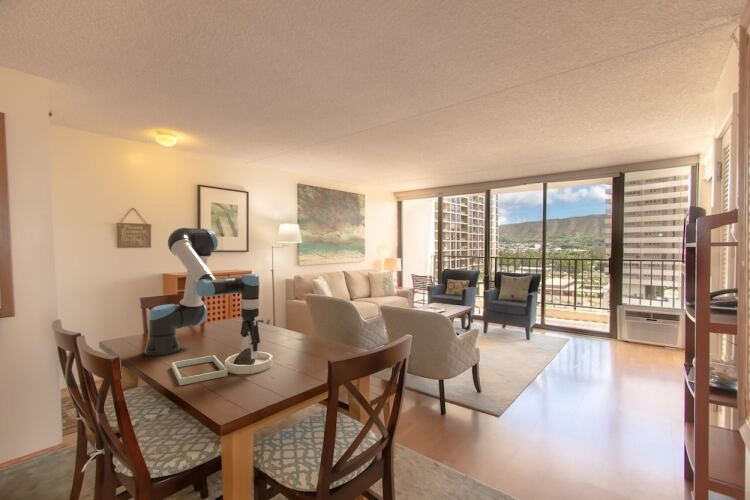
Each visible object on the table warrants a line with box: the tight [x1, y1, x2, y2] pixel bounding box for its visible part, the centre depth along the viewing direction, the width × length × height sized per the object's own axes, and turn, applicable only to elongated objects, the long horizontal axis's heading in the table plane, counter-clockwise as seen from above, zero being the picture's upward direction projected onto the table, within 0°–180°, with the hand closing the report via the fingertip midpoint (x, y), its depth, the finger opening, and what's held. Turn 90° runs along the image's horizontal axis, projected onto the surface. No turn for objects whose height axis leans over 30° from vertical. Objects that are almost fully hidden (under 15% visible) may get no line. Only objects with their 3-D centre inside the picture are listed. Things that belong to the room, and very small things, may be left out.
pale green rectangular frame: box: [171, 354, 229, 386], centre depth 148 cm, size 24×18×2 cm
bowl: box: [224, 351, 274, 375], centre depth 157 cm, size 20×20×4 cm
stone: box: [233, 347, 256, 365], centre depth 156 cm, size 10×8×10 cm
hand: (249, 354), depth 157 cm, fingers open, 13 cm apart
